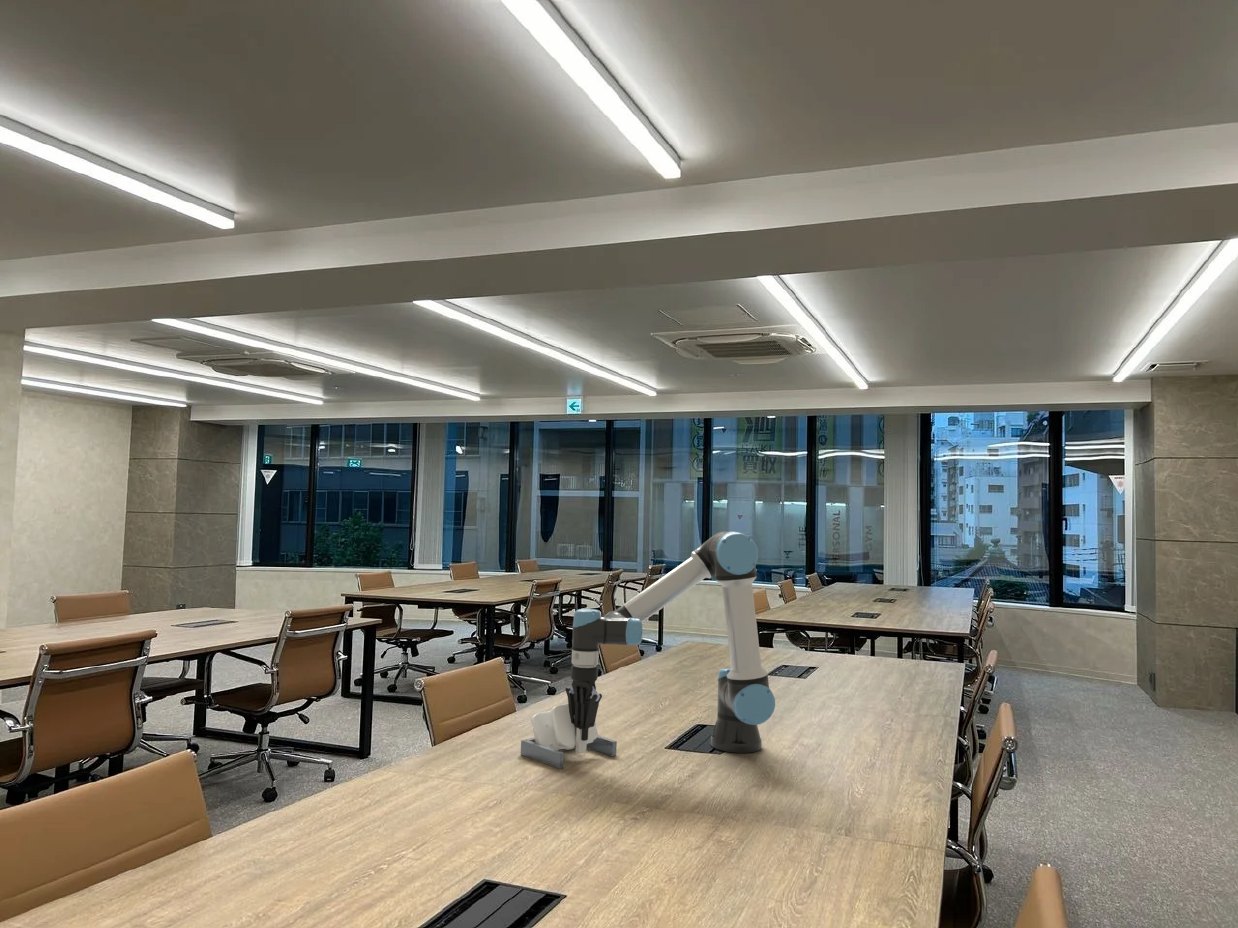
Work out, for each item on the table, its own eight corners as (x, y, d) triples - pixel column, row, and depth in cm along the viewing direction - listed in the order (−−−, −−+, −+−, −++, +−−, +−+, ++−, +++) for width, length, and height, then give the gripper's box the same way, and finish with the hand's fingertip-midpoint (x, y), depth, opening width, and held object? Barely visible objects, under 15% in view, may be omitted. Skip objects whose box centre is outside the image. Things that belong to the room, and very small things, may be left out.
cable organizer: (559, 749, 228) (550, 706, 232) (537, 756, 235) (528, 714, 239) (600, 740, 238) (590, 699, 242) (577, 747, 245) (568, 707, 249)
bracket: (616, 755, 238) (616, 740, 238) (559, 768, 223) (559, 753, 224) (576, 742, 250) (577, 728, 250) (520, 754, 236) (521, 739, 236)
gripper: (559, 663, 236) (555, 748, 234) (590, 669, 227) (586, 759, 225) (579, 660, 241) (575, 744, 240) (610, 667, 232) (606, 754, 230)
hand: (580, 751), depth 232 cm, fingers closed
